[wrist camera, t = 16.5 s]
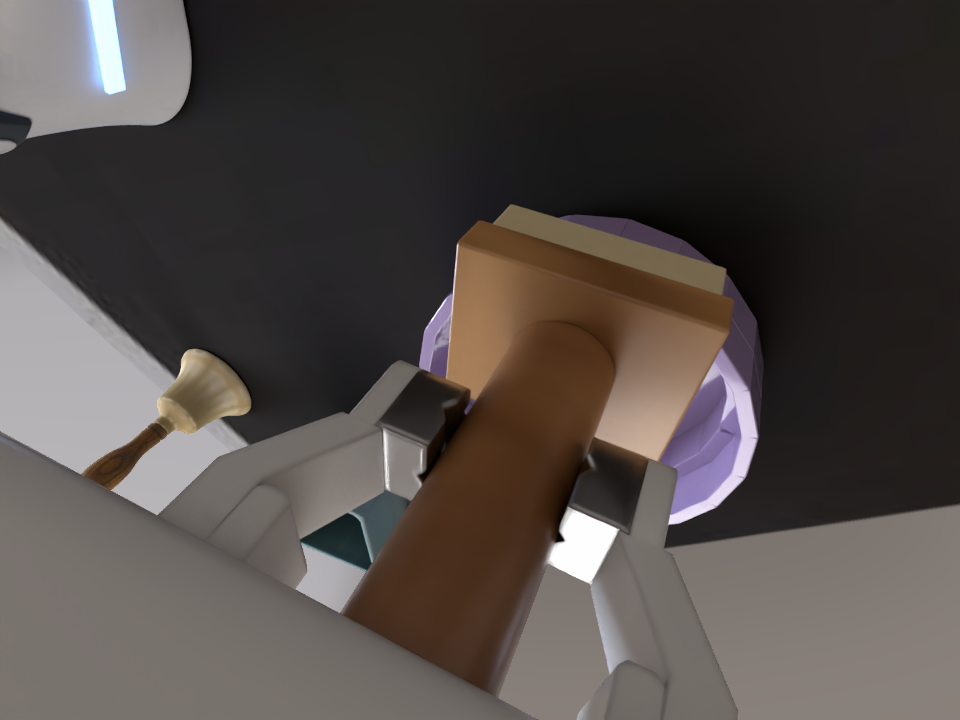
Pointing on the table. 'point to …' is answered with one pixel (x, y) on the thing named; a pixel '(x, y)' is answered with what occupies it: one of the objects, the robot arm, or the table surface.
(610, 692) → the robot arm
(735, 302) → the bowl
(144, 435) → the hand bell
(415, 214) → the table surface
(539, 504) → the brush
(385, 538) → the flower pot
